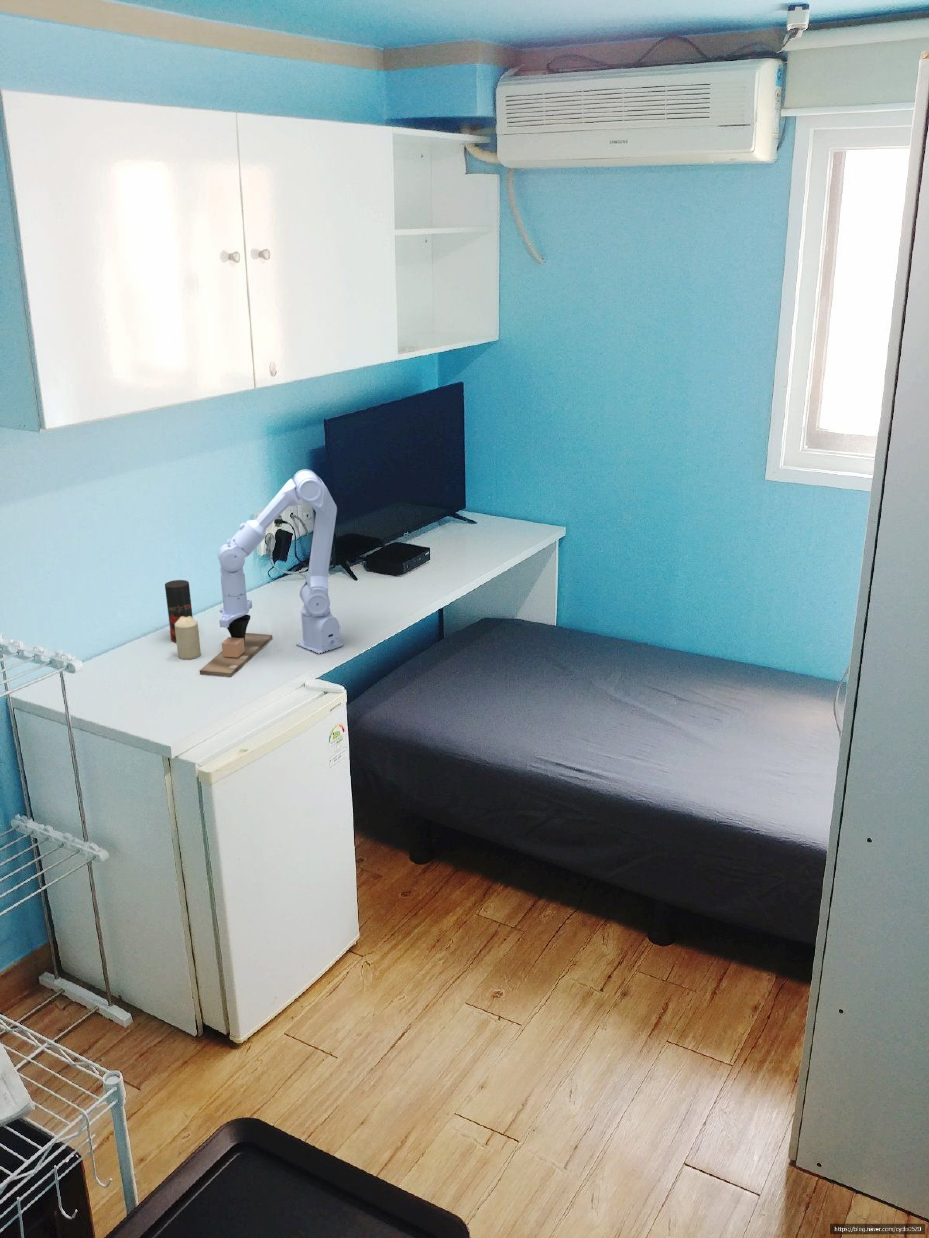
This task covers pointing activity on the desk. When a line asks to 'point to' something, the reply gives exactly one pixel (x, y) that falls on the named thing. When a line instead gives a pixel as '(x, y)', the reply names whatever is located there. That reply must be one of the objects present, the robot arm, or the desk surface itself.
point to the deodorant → (177, 603)
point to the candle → (187, 638)
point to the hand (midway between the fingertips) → (239, 644)
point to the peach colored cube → (233, 647)
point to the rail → (233, 664)
